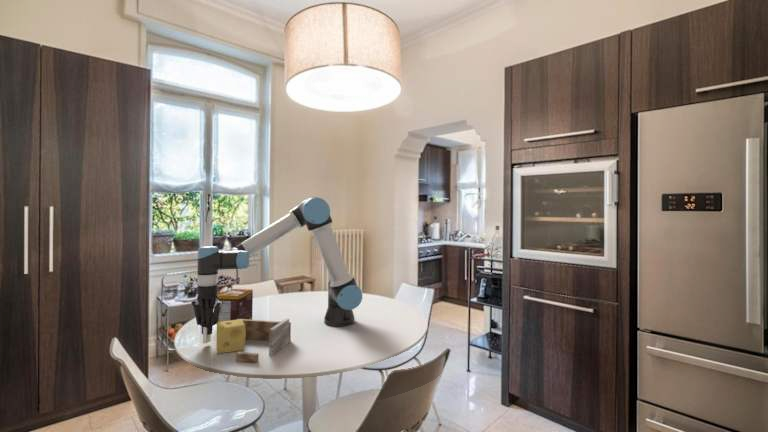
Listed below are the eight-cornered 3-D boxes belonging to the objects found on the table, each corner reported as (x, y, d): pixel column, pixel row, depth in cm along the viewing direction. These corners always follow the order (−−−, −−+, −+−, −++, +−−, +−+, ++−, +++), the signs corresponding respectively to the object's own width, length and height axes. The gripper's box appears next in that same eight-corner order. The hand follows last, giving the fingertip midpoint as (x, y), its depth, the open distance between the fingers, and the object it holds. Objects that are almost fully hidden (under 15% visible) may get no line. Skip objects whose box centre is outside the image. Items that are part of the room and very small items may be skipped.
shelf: (290, 341, 151) (290, 317, 151) (262, 363, 128) (263, 336, 128) (237, 337, 155) (237, 314, 155) (201, 358, 132) (201, 331, 132)
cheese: (216, 354, 136) (216, 328, 136) (215, 345, 145) (216, 320, 145) (245, 350, 140) (245, 325, 140) (242, 341, 150) (243, 317, 150)
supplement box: (252, 319, 181) (253, 289, 181) (237, 329, 166) (237, 295, 166) (233, 318, 182) (233, 288, 182) (216, 328, 167) (216, 294, 167)
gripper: (227, 283, 147) (226, 340, 147) (199, 281, 150) (198, 337, 150) (216, 287, 140) (215, 346, 140) (186, 285, 142) (185, 344, 142)
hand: (206, 342), depth 145 cm, fingers closed
